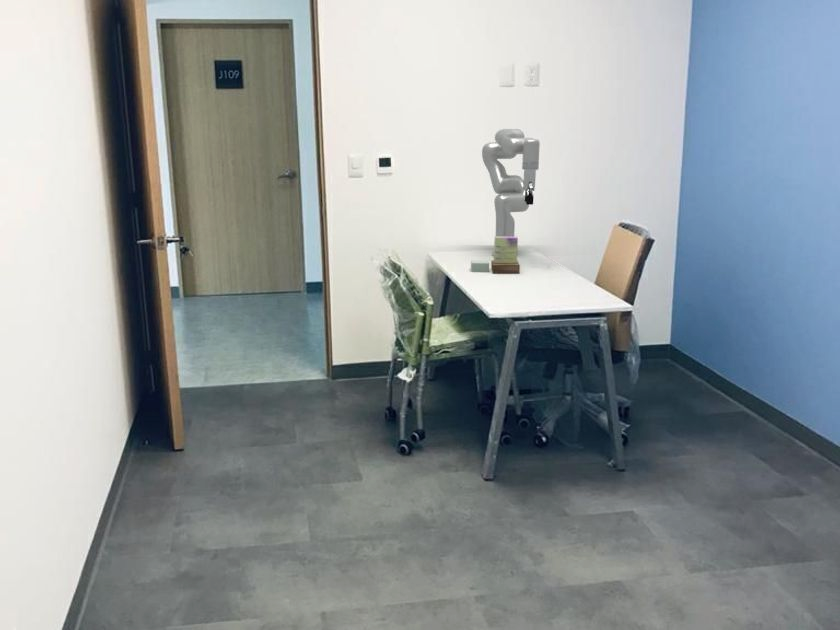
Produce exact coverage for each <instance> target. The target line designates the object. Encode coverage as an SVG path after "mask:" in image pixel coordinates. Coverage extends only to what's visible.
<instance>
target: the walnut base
mask: <svg viewBox="0 0 840 630" xmlns="http://www.w3.org/2000/svg"><path fill="white" fill-rule="evenodd" d="M490 261H491V262H490V263H491V264H490V267H491V272H492V274H493V275H495V274H497V275H500V274H502V275H506V274H507V275H519V274H520V272H521V271H520V268H521V267H520V266H521V265H520V263H519V261H518V260H517V263H516V264H515V263H494V259H492V260H490Z"/></svg>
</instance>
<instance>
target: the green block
mask: <svg viewBox="0 0 840 630" xmlns="http://www.w3.org/2000/svg"><path fill="white" fill-rule="evenodd" d="M470 271H471V272H472V273H489V272H490V262H489V260H488V259H487V260H485V259H483V260H482V259H481V260H479V259H478V260H475V259H474V260H473V259H472V260H470Z"/></svg>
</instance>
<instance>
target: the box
mask: <svg viewBox="0 0 840 630" xmlns="http://www.w3.org/2000/svg"><path fill="white" fill-rule="evenodd" d="M518 240H519V239H518V236H514V237H511V236H496V235H495V236H494V244H493V245H494V246H493V247H494V248H493V252H494V256H493V260H494V263H515V264H516V263H517V261H518V242H519V241H518Z"/></svg>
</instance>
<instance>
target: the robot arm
mask: <svg viewBox="0 0 840 630" xmlns="http://www.w3.org/2000/svg"><path fill="white" fill-rule="evenodd" d="M494 140H495V141H492V142H488V143H486V144H484V145H483V147H482V150H481V156H482V161H483V164H484V166H485V167H486V170H487V171H488V173H489V177H490V182H491V185H492V189H493V192H494V193H495V194H497V195H496V196H495V197H494V201H493V202H494V209H495V236H511V237H515V218H514V217H513V215H512V213H522V212H525V211H527V210H528V209H529V207H530V205H532V206H533V205H534V192H535V190H536V189H535V188H536V176H537V175H536V173H537V171H538V170H539V168H540V167H539V165H540V163H539V162H540V144H541V143H540V140H539V139H537V138H533V137H525V134H524V132H523V131H522V130H521V129H519V128H503V129H499V130H497V132H496V133H495V135H494ZM517 155H522V162H521V164H522V166H521V169H522V170H523V178H522V177H521V176H519V175H517V174H515V175H514V174H512V175H510V174H507V172H506V171H507V169H506V167H505V166H504V164H503V163H501V162H500V160H511V159H514V158H516V156H517ZM491 256H493V257H494V251H493V252H492V253H491Z"/></svg>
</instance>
